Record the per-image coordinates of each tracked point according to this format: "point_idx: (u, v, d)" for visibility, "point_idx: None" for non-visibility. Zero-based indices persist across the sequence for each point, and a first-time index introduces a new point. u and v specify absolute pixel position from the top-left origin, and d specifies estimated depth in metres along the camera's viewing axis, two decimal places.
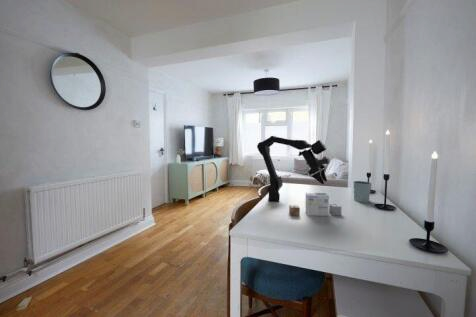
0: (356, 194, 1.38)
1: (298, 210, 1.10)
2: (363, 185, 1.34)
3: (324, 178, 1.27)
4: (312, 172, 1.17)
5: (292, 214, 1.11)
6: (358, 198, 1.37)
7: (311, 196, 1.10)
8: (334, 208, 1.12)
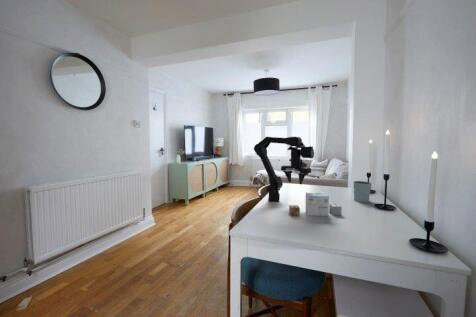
0: (356, 194, 1.38)
1: (298, 210, 1.10)
2: (363, 185, 1.34)
3: (290, 179, 1.33)
4: (307, 171, 1.22)
5: (292, 214, 1.11)
6: (358, 198, 1.37)
7: (311, 196, 1.10)
8: (334, 208, 1.12)
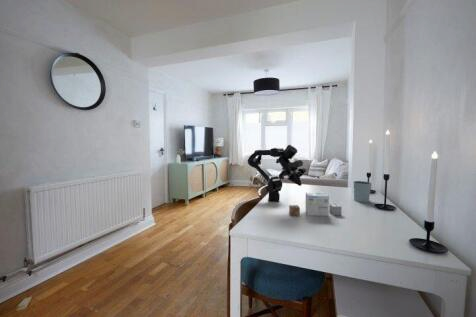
0: (356, 194, 1.38)
1: (298, 210, 1.10)
2: (363, 185, 1.34)
3: None
4: (281, 176, 1.21)
5: (292, 214, 1.11)
6: (358, 198, 1.37)
7: (311, 196, 1.10)
8: (334, 208, 1.12)
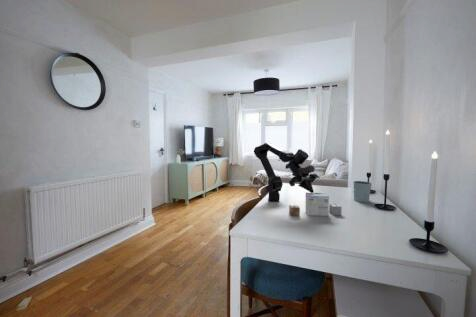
0: (356, 194, 1.38)
1: (298, 210, 1.10)
2: (363, 185, 1.34)
3: None
4: (292, 182, 1.15)
5: (292, 214, 1.11)
6: (358, 198, 1.37)
7: (311, 196, 1.10)
8: (334, 208, 1.12)
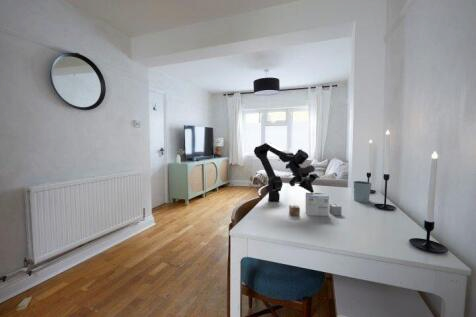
0: (356, 194, 1.38)
1: (298, 210, 1.10)
2: (363, 185, 1.34)
3: None
4: (292, 182, 1.15)
5: (292, 214, 1.11)
6: (358, 198, 1.37)
7: (311, 196, 1.10)
8: (334, 208, 1.12)
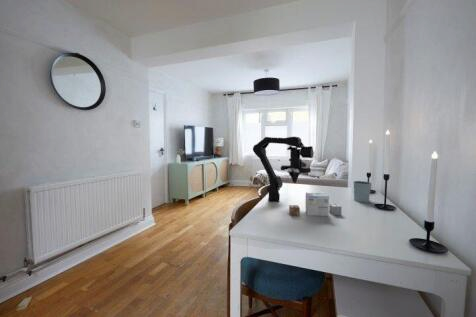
0: (356, 194, 1.38)
1: (298, 210, 1.10)
2: (363, 185, 1.34)
3: None
4: (307, 171, 1.23)
5: (292, 214, 1.11)
6: (358, 198, 1.37)
7: (311, 196, 1.10)
8: (334, 208, 1.12)
